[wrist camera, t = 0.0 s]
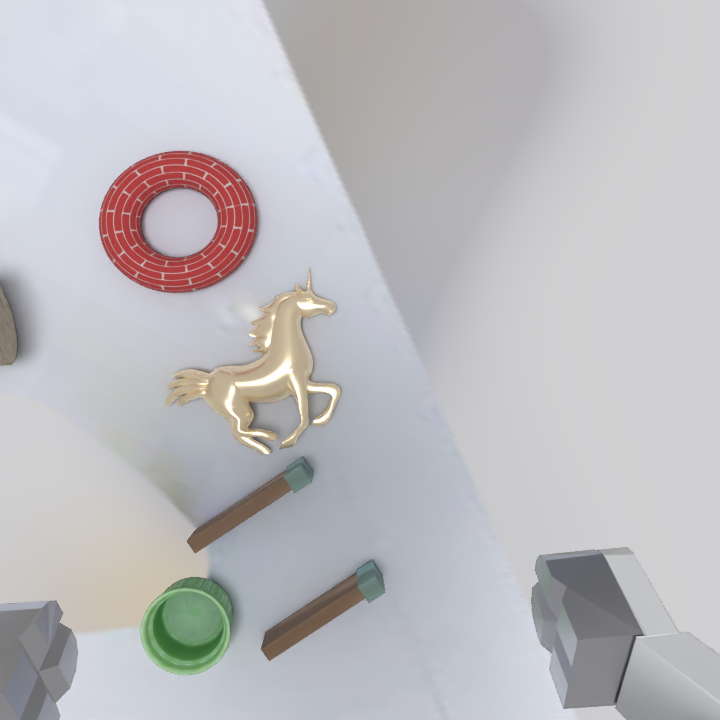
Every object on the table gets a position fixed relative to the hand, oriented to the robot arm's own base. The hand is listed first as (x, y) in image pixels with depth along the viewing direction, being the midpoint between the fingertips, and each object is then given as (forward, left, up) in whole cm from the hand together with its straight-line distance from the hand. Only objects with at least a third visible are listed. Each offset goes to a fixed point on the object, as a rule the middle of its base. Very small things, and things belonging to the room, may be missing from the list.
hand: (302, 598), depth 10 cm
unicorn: (+5, +7, -55) cm, 56 cm away
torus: (+22, +5, -55) cm, 59 cm away
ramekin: (-13, +27, -55) cm, 62 cm away
